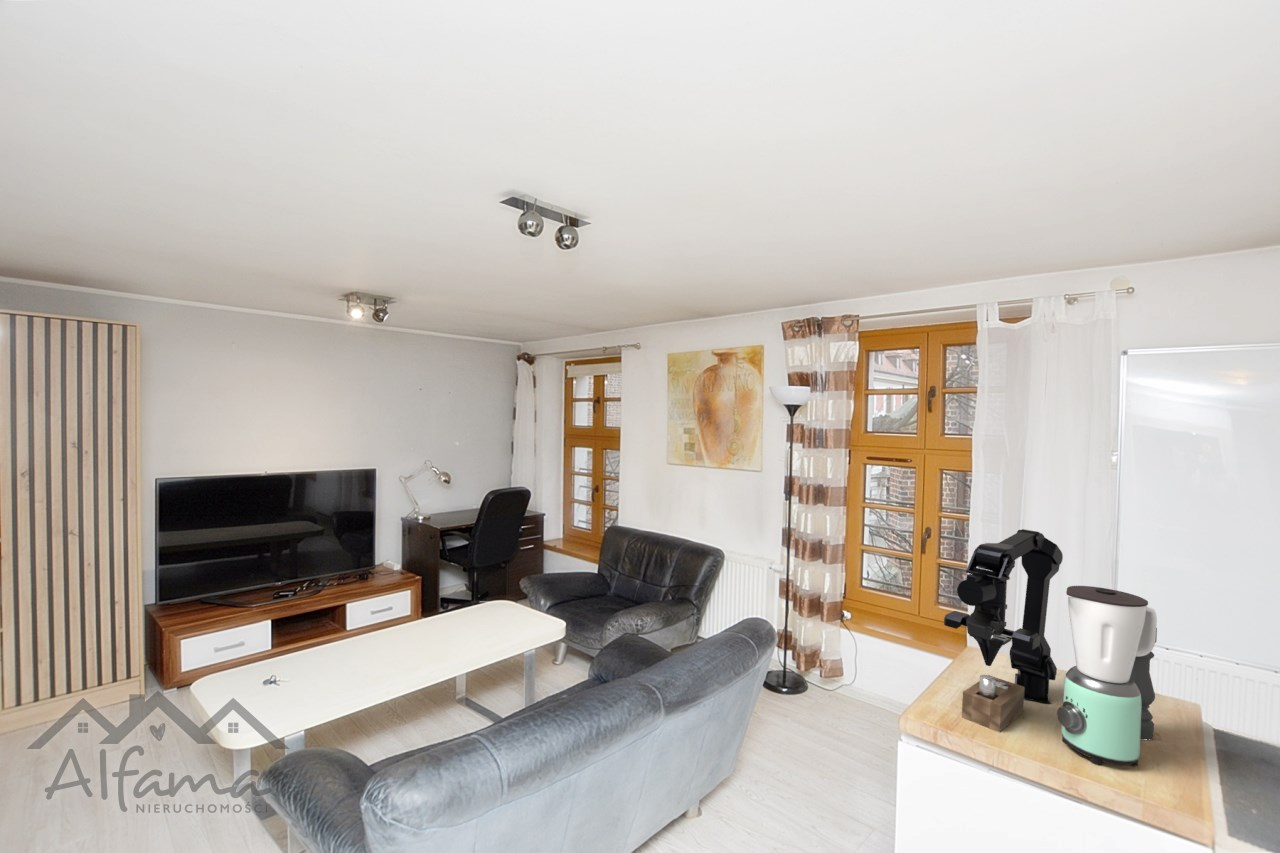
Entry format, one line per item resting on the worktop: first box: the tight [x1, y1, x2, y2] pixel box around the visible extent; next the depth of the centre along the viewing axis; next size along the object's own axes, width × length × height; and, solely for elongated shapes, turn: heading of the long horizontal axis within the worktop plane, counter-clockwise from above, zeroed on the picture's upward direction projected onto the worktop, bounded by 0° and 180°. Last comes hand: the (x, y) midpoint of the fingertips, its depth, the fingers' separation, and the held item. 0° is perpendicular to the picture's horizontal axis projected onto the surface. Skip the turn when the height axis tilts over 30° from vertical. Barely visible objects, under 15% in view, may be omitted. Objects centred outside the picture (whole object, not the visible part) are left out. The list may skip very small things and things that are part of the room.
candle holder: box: [1130, 627, 1158, 741], centre depth 131 cm, size 6×6×25 cm
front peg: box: [979, 674, 996, 700], centre depth 134 cm, size 3×3×6 cm
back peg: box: [996, 681, 1009, 689], centre depth 140 cm, size 3×3×6 cm
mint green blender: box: [1056, 585, 1158, 767], centre depth 122 cm, size 19×13×35 cm
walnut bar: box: [961, 674, 1025, 733], centre depth 137 cm, size 8×16×6 cm, turn 130°
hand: (988, 665), depth 134 cm, fingers closed
